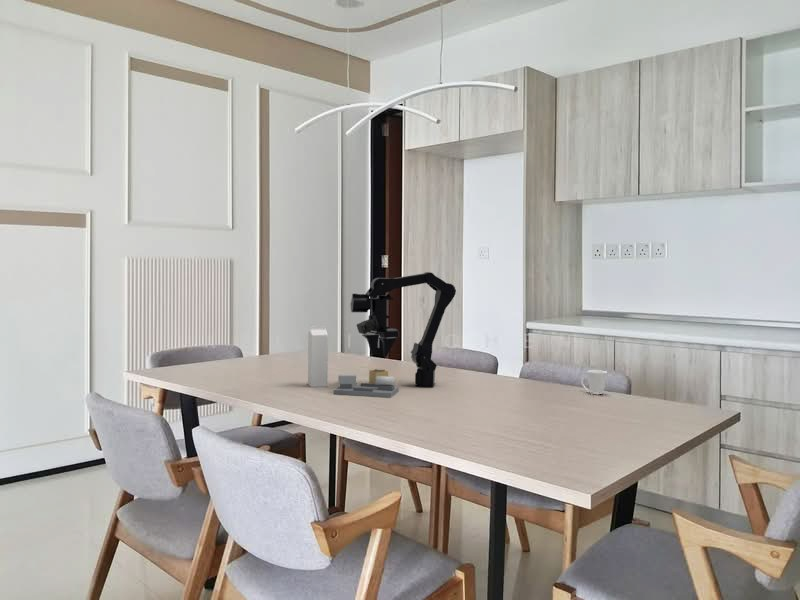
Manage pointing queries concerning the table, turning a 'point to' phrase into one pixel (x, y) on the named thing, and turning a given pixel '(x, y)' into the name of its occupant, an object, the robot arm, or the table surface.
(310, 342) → the milk
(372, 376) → the gold square block
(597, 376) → the cup
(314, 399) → the table surface
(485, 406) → the table surface
